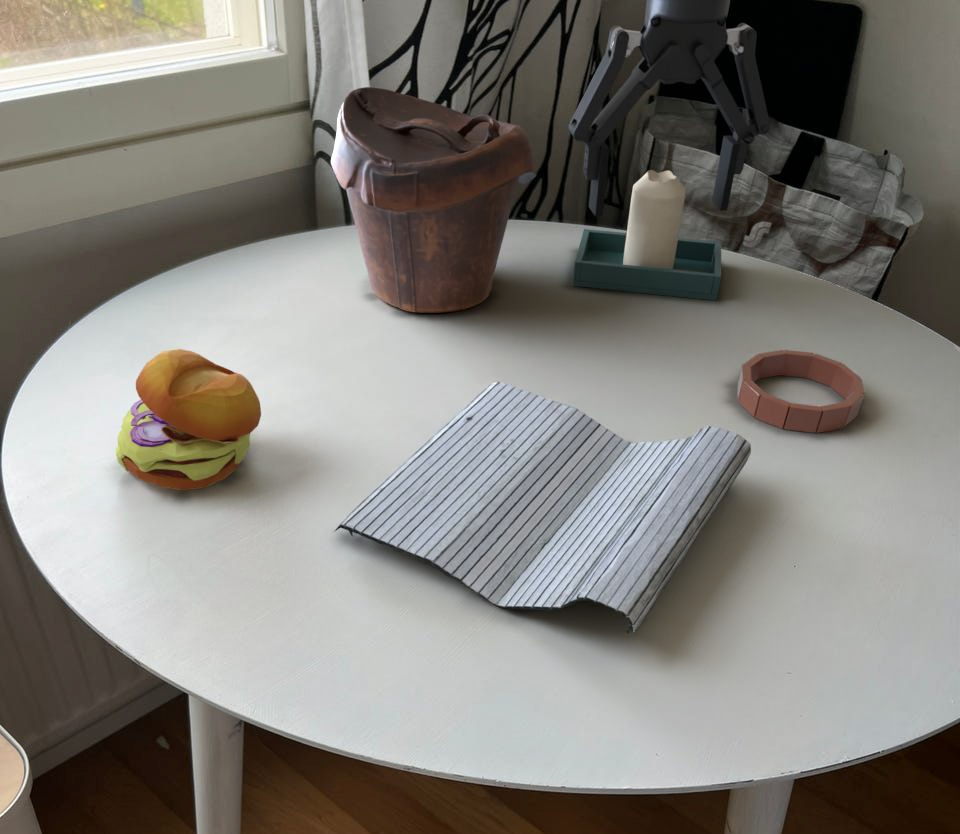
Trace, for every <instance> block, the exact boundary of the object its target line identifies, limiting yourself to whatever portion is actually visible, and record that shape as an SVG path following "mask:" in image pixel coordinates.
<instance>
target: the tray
mask: <svg viewBox="0 0 960 834" xmlns="http://www.w3.org/2000/svg"><path fill="white" fill-rule="evenodd" d="M626 235H627V232H620V231H611V230H610V231H609V230H599V229H589V228H583V230H582V235H581V238H580V241H579V246H578V250H577V253H576V256H575V259H574V267H573V268H574V269H573V277H572V286H573V287H582V288H589V289H599V290H608V291H609V290H611V291H619V292H629V293H639V294H649V295H657V296H668V297H677V298H678V297H679V298H687V299H696V300H697V299H698V300H705V301H706V300H707V301H714V302H715V301H717V299H718V294H719V289H720V285H721V280H722V242H721V241H713V240H703V239H693V238H682V237H678V242H677V248H676V254H675V259H674V265H673V270H672V269H662V268H652V267H642V266H632V265H623V258H624V250H625V243H626Z"/></svg>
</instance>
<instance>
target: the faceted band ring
mask: <svg viewBox="0 0 960 834" xmlns="http://www.w3.org/2000/svg"><path fill="white" fill-rule="evenodd" d="M776 376H786V377H794V378H804V379H809V380H812V381H814V382H817V383H819V384H822V385H825V386H827V387H830V388H832V389H833V390H834V391H835V392H836V393H837V394H839V396H841V397H842V398H843V399H844V401H842V402H836V403H831V404H825V405H820V406H819V405H811V404H803V403H793V402H789V401H787V400H785V399H783V398H780V397H777V396H774V395H772V394H770V393H767V392H765V391H764V390H763V389H762V388H761V387H760V386H759V385H757V384H756V383H755V382H756V381H758V379H764V378H770V377H776ZM736 388H737V402H738V404H739V405H741V406H742V408H743V409H745V410H746V411H747V413H749V414H750V415H751V416H752V417H753V418H754V419H757V420H759V421H762V422H764V423H766V424H769V425H771V426H774V427H776V428H779V429H781V430H785V431H796V432H802V433H812V434H815V433H816V434H819V433H824V432H829V431H835V430H840V429H843V428H845V427H847V425H848V424H850V423H851V422H852V421H853V420H854V419H855V418H857V417H858V414H859V411H860V408H861V405H862V403H863V400H864V396H865V393H866V392H865V387H864V384H863V379H862V378H861V376H859V375H858V374H857V373H856V372H854V371H853V370H852V369H851V368H849V367H848V366H847V365H846V364H845V363H842V362H840V361H838V360H835V359H832V358H829V357H827V356H824V355H822V354H818V353H815V352H811V351H810V352H808V351H800V350H791V349H779V350H773V351H768V352H760V353H758V354H755V355H754V356H753V357H751V358H750V359H748V360H747V361H746V362H745V363H743V364H742V366H741V369H740V374H739V378H738V382H737V386H736Z"/></svg>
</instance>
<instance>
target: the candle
mask: <svg viewBox="0 0 960 834" xmlns="http://www.w3.org/2000/svg"><path fill="white" fill-rule="evenodd" d="M631 190H632V191H631V197H630V206H629V213H628V219H627V228H626V233H627V235H626V243H625V250H624V258H623V265H632V266H642V267H652V268H662V269H672V270H673V265H674V259H675V254H676V248H677V242H678V238H679V235H680V229H681V223H682V218H683V212H684V206H685V200H686V193H687V190H686V188H685V187H684V184H683V183H682V182H681V181H680V180H679V178H678V177H677V175H674V174H673V172H672V171H671V170H664V171H661V172H656V171H655V170H653V169H650V170H649V169H648V170H647V171H646V173H644V174H643V176H642V177H641V178H639V179H638V180H637V181H636V182H635V183H634V184H633V186H632V189H631Z"/></svg>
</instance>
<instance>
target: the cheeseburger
mask: <svg viewBox="0 0 960 834" xmlns="http://www.w3.org/2000/svg"><path fill="white" fill-rule="evenodd" d="M135 390H136V393H137V396H138V397H139V398H140V399H139V400H138V401H136V402H134V403H133V404H132V406H131V407H130V408H129V410H128V412H126V414H125V416H124V418H123V419H122V422H121V423H122V424H121V430H120V431H119V433H118V434H117V445H116V447H115V455H116V459H117V462H118V464H119V465H120V466H121V467H122V468H123V469H124V470H125V472H127V473H130V474H131V475H132V476H134V477H135V478H137V479H138V480H140V481H143V482H146V483H148V484H151V485H154V486H157V487H161V488H166V489H170V490H171V489H172V490H177V491H185V490H186V491H187V490H196V489H205V488H207V487H210V486H211V485H214V484H216V483H218V482H220V481H223V480H225V479H226V478H227V477H229V475H230V474H232V473H233V472H234V471H235V470H236V469H237V468H238V466H239V464H241V463H242V461H243V460H244V458H245V456H246V455H247V452H248V450H249V447H250V439H251V438H250V437H251V434H252V433H253V431H255V430H256V428H257V427H258V426H259V424H260V421H261V417H262V408H261V401H260V399H259V397H258V394H257V393H256V391H255V389H254V386H253V385H252V383H251V381H249V379H247V377H245V375H243V374H241V373H239V372H235V371H233V370H231V369H229V368H227V367H224V366H221V365H219V364H217V363H214V362H213V361H211V360H209V359H208V358H206V357H205V356H203V355H202V354H199V353H197V352H194V351H192V350H187V349H181V348H178V349H170V350H163V351H161V352H160V353H158V354H156V355H155V356H154V357H153V358H151V359H149V360H148V361H147V362H146V363H145V365H144V366H143V368H142V369H141V371H140V372H139V373H138V375H137V377H136V380H135Z"/></svg>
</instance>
